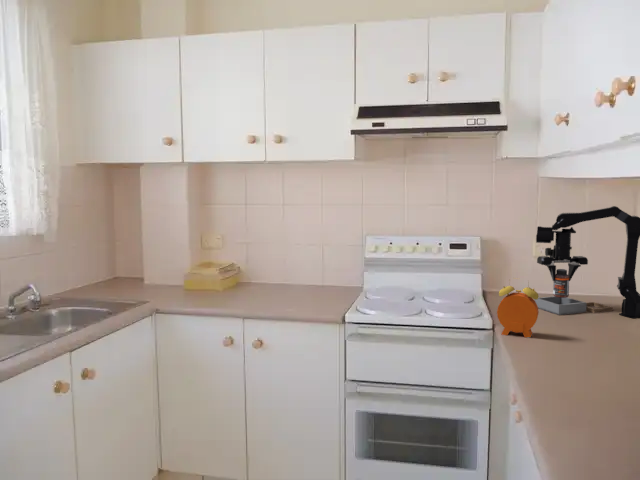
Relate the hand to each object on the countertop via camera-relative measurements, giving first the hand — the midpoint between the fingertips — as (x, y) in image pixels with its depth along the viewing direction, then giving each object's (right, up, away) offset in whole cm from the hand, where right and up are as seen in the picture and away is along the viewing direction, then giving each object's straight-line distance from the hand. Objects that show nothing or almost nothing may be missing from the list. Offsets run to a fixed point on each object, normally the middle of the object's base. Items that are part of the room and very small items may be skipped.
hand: (561, 281), depth 227 cm
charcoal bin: (0, -12, +1) cm, 12 cm away
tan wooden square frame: (+14, -12, +2) cm, 19 cm away
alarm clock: (-30, -17, -33) cm, 48 cm away
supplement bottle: (0, -7, +1) cm, 7 cm away
